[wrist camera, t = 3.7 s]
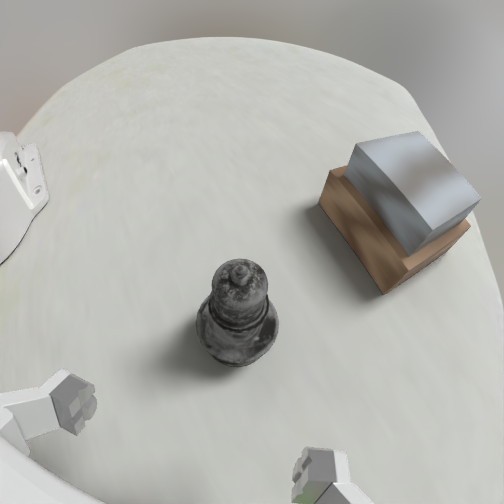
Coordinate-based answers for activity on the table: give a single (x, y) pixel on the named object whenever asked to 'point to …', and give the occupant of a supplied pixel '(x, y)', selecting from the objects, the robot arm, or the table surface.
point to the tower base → (376, 235)
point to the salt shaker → (238, 314)
